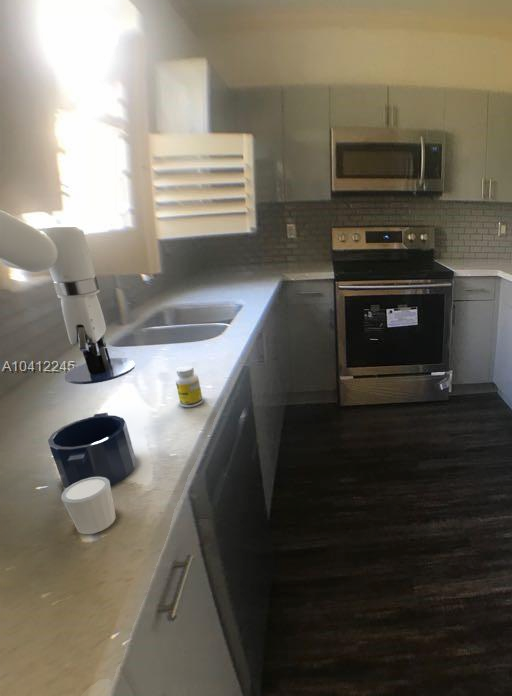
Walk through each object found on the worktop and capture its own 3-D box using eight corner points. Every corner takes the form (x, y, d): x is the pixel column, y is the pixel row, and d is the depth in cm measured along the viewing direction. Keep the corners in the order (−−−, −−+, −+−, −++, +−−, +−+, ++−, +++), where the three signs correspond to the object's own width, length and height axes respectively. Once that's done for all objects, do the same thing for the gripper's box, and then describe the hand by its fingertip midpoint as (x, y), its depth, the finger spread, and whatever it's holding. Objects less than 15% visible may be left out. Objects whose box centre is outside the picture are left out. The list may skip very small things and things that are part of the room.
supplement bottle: (176, 404, 118) (168, 369, 114) (194, 396, 122) (188, 362, 118) (188, 409, 115) (181, 374, 111) (207, 401, 119) (200, 366, 115)
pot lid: (57, 390, 94) (47, 363, 92) (76, 367, 106) (69, 341, 104) (129, 381, 98) (122, 354, 95) (140, 359, 110) (134, 334, 107)
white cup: (103, 504, 82) (92, 472, 79) (128, 515, 79) (118, 482, 76) (63, 529, 76) (51, 495, 73) (90, 542, 73) (77, 506, 70)
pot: (48, 508, 81) (31, 462, 77) (78, 454, 97) (65, 415, 93) (126, 493, 84) (114, 449, 81) (143, 444, 100) (133, 405, 97)
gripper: (69, 281, 101) (91, 358, 108) (41, 298, 86) (69, 386, 93) (107, 278, 103) (126, 354, 110) (86, 294, 88) (110, 381, 95)
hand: (100, 368), depth 102 cm, fingers closed on pot lid, 3 cm apart
